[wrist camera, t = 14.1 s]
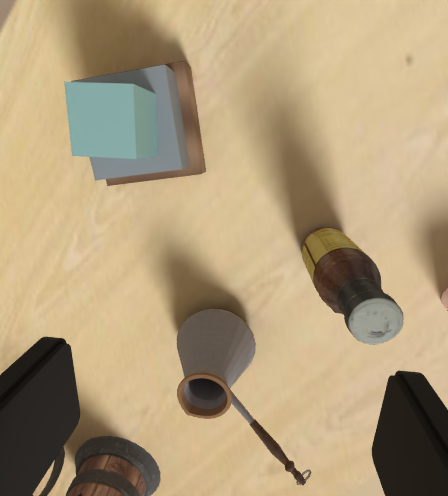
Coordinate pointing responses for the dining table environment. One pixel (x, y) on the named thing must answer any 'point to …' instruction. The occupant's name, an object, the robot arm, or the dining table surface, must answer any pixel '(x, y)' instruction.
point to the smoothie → (445, 299)
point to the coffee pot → (219, 371)
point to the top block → (168, 125)
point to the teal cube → (111, 120)
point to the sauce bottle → (351, 285)
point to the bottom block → (190, 130)
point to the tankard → (109, 469)
